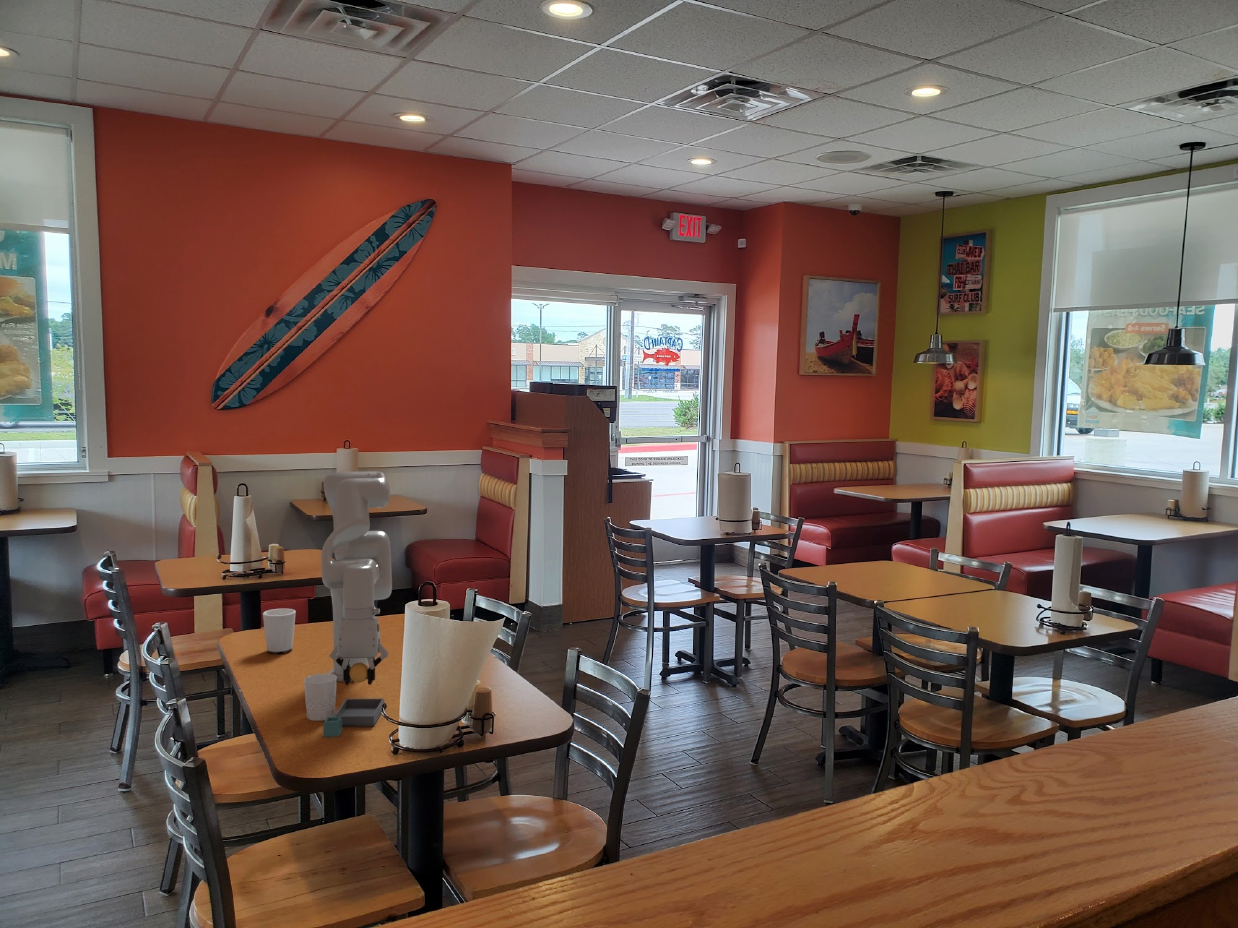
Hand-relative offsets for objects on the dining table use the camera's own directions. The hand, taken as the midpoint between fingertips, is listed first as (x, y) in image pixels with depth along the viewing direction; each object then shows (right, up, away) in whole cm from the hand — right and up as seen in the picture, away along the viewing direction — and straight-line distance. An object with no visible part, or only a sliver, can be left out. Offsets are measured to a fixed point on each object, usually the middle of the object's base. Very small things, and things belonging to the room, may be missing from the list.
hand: (359, 682), depth 225 cm
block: (-3, -10, -10) cm, 15 cm away
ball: (0, +3, 0) cm, 3 cm away
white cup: (-10, -9, +1) cm, 14 cm away
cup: (-42, -4, +57) cm, 71 cm away
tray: (0, -9, +1) cm, 9 cm away
